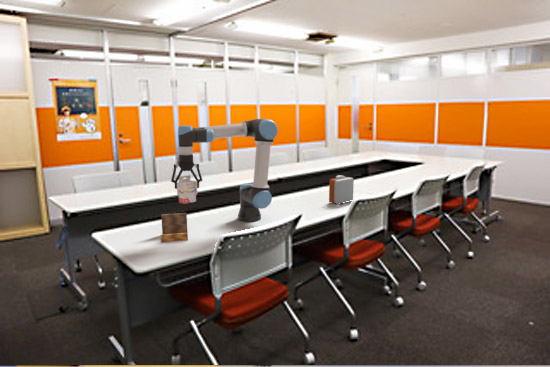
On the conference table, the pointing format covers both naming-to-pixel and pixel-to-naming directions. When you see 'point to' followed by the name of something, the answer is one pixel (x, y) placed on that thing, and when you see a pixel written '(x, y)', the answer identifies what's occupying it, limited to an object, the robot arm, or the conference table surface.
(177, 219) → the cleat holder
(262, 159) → the robot arm
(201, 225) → the conference table surface
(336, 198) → the grey and orange case
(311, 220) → the conference table surface
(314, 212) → the conference table surface
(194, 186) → the ink cartridge box
